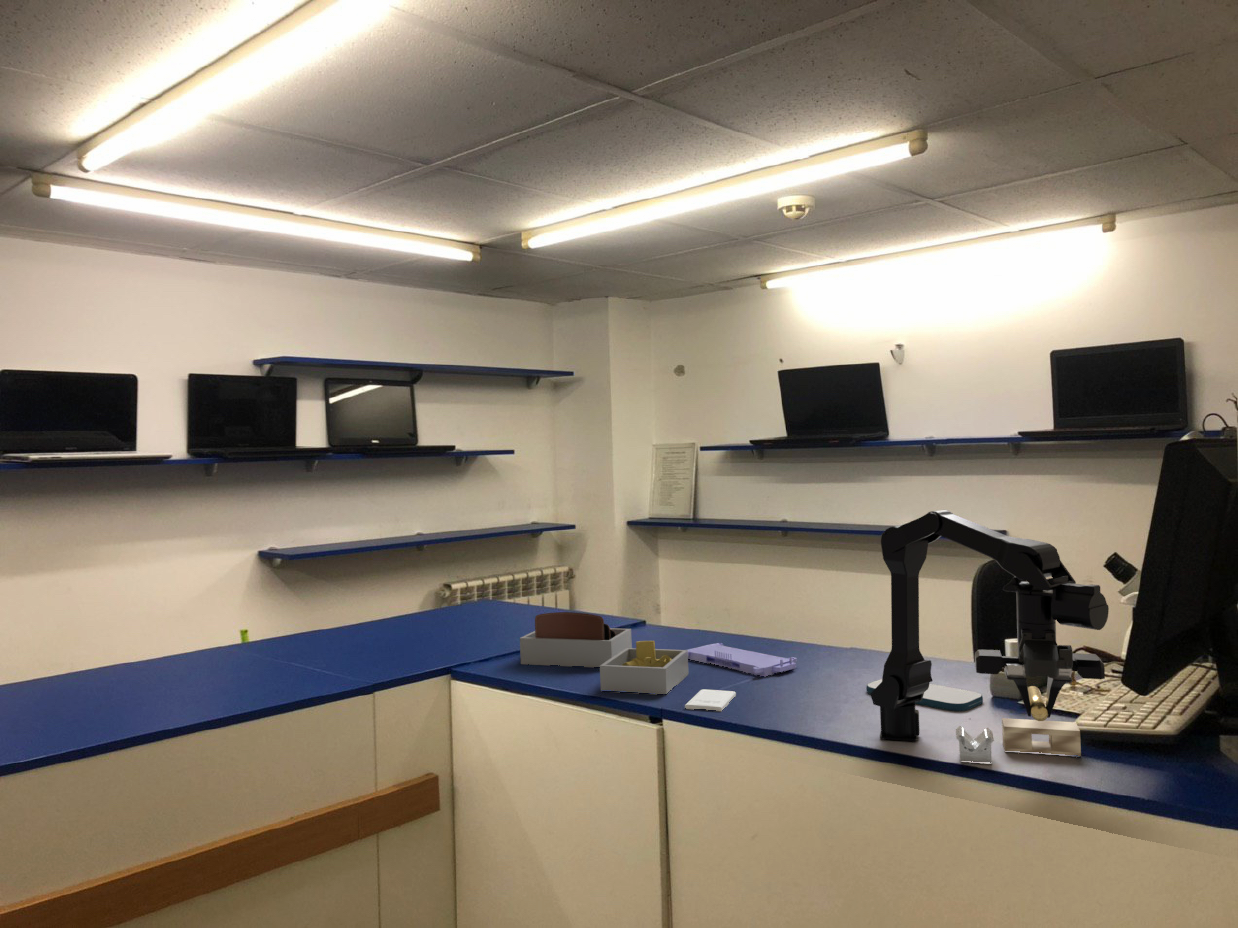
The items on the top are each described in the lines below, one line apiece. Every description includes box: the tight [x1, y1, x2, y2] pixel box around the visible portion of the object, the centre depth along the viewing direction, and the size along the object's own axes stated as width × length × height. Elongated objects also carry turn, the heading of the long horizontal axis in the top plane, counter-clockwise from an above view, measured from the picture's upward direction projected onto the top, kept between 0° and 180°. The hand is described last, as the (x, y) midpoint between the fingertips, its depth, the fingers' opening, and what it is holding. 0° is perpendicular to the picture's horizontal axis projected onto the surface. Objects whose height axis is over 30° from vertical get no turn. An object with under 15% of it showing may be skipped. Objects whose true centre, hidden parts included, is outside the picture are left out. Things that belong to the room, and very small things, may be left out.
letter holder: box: [534, 611, 616, 640], centre depth 239 cm, size 10×20×14 cm, turn 70°
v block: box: [955, 725, 995, 763], centre depth 154 cm, size 5×6×5 cm
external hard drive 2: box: [865, 678, 984, 712], centre depth 193 cm, size 24×12×2 cm, turn 41°
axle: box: [1027, 685, 1048, 721], centre depth 149 cm, size 2×12×2 cm, turn 160°
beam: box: [1001, 717, 1082, 757], centre depth 157 cm, size 12×5×5 cm, turn 70°
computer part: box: [687, 642, 798, 678], centre depth 229 cm, size 30×4×15 cm
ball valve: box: [622, 640, 672, 667], centre depth 215 cm, size 13×10×10 cm
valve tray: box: [599, 647, 689, 695], centre depth 214 cm, size 16×19×6 cm
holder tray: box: [519, 627, 633, 668], centre depth 242 cm, size 26×16×7 cm, turn 70°
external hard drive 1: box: [684, 689, 737, 712], centre depth 195 cm, size 2×8×12 cm
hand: (1038, 716), depth 145 cm, fingers closed on axle, 2 cm apart
